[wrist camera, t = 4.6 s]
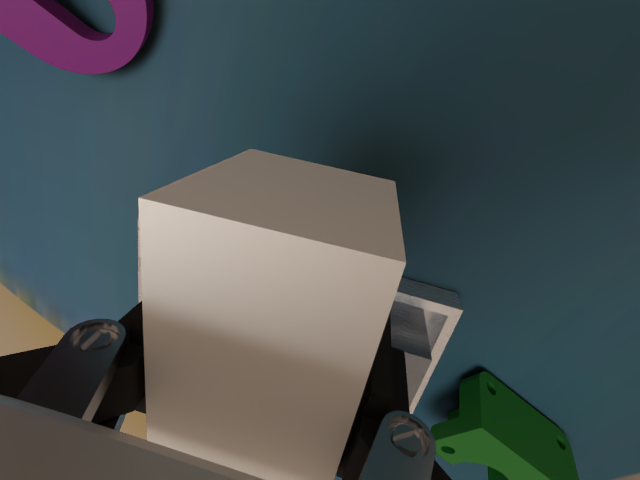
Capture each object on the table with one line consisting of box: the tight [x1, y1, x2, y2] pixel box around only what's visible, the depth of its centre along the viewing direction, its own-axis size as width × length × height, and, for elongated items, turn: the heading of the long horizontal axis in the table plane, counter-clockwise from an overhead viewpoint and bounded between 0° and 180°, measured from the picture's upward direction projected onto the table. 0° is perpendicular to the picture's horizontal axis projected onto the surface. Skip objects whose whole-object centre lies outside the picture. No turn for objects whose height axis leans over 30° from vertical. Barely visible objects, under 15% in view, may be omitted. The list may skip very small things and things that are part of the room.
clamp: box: [431, 371, 579, 480], centre depth 30 cm, size 12×6×9 cm, turn 46°
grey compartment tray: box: [138, 218, 463, 414], centre depth 29 cm, size 26×14×6 cm, turn 77°
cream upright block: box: [138, 149, 406, 480], centre depth 11 cm, size 10×5×6 cm, turn 169°
